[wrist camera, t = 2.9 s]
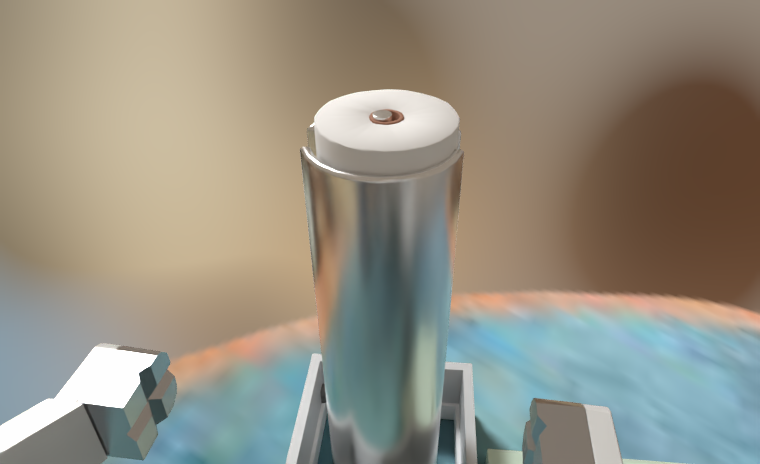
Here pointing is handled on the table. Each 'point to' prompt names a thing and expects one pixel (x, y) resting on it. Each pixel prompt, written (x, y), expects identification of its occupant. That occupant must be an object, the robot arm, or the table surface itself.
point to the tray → (507, 460)
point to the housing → (453, 407)
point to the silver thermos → (383, 267)
